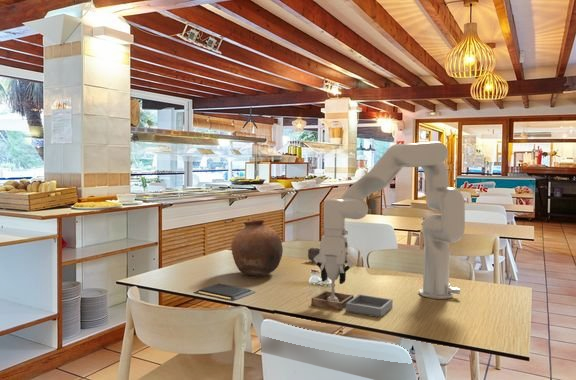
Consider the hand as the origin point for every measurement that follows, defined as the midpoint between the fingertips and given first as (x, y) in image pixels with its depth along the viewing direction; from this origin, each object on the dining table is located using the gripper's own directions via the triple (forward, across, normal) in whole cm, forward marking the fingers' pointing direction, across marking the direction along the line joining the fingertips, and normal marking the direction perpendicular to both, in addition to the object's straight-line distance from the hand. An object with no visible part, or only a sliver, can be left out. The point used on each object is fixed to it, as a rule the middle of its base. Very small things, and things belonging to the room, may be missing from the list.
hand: (333, 281), depth 174 cm
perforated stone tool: (+8, +32, -60) cm, 69 cm away
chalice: (+8, 0, 0) cm, 8 cm away
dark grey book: (+9, +42, +9) cm, 44 cm away
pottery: (+8, +47, -22) cm, 53 cm away
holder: (+8, 0, 0) cm, 8 cm away
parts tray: (+8, -14, 0) cm, 16 cm away
